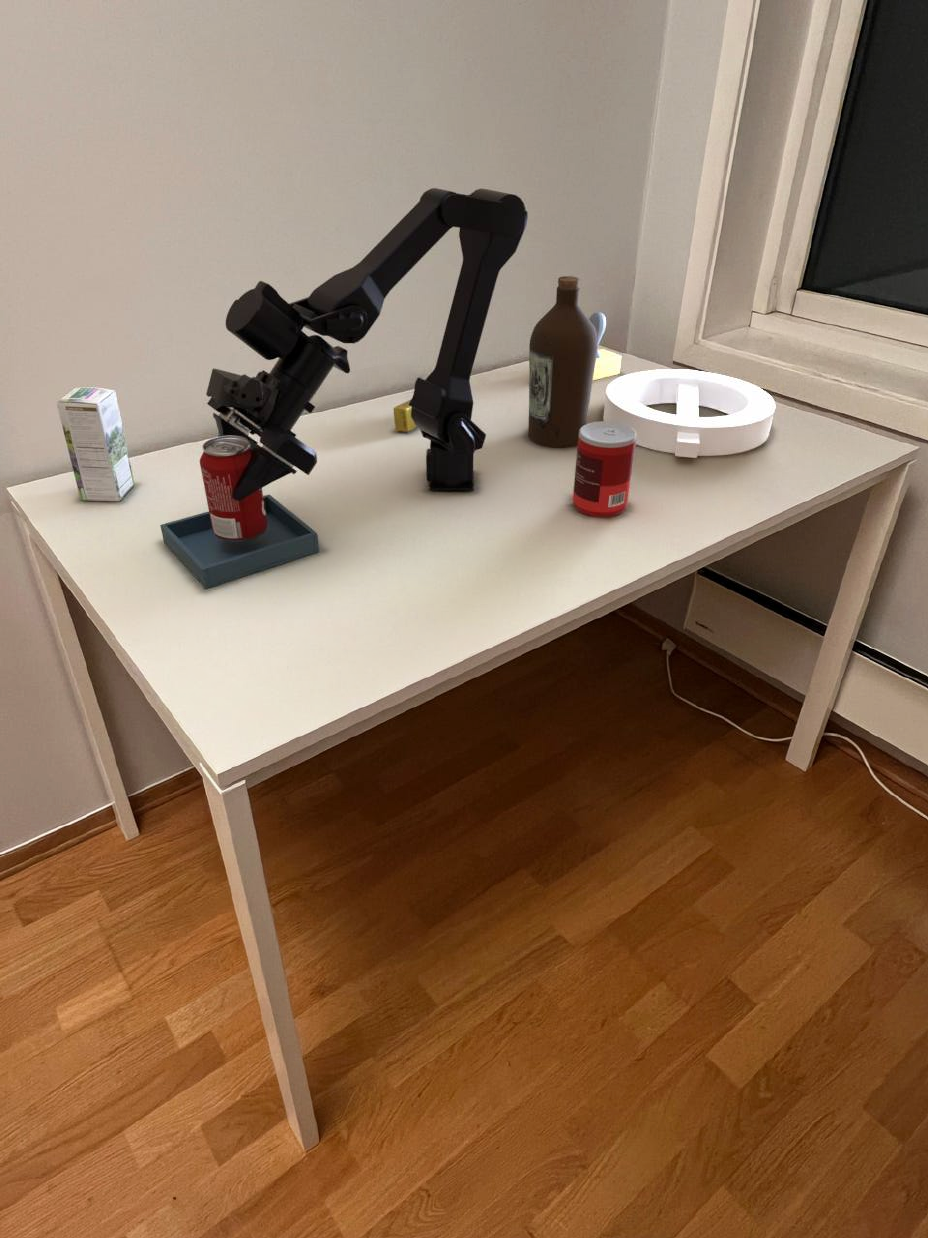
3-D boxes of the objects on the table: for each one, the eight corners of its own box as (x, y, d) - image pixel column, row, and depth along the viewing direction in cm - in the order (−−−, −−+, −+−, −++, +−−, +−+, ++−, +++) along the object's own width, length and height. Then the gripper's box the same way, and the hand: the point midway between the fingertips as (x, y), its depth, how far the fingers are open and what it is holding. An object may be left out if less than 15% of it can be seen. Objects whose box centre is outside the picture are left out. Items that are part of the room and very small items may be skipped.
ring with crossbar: (685, 385, 161) (689, 360, 159) (804, 433, 142) (811, 406, 139) (570, 412, 149) (573, 386, 146) (684, 469, 129) (689, 440, 127)
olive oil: (568, 421, 145) (581, 267, 131) (600, 443, 137) (618, 283, 123) (513, 430, 142) (520, 273, 127) (543, 453, 134) (555, 289, 119)
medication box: (433, 410, 149) (432, 387, 147) (446, 412, 148) (445, 389, 146) (394, 430, 140) (392, 406, 138) (407, 432, 139) (405, 408, 137)
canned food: (631, 497, 121) (641, 424, 115) (621, 522, 115) (631, 446, 108) (579, 489, 123) (586, 417, 117) (566, 513, 117) (573, 438, 110)
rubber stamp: (600, 366, 170) (606, 305, 163) (620, 374, 166) (627, 311, 160) (563, 375, 165) (568, 312, 159) (583, 383, 161) (589, 319, 155)
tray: (271, 511, 116) (269, 494, 114) (319, 551, 107) (317, 533, 105) (164, 543, 108) (159, 524, 107) (205, 589, 99) (202, 569, 98)
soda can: (238, 551, 103) (222, 460, 96) (202, 535, 106) (184, 446, 99) (279, 530, 107) (267, 442, 100) (243, 515, 110) (229, 428, 104)
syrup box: (97, 483, 123) (72, 386, 114) (137, 485, 122) (114, 387, 114) (80, 501, 118) (53, 400, 110) (121, 502, 118) (97, 402, 109)
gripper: (210, 323, 101) (139, 431, 102) (280, 363, 89) (199, 485, 90) (277, 374, 110) (211, 474, 111) (350, 417, 98) (275, 529, 98)
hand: (222, 488), depth 102 cm, fingers closed on soda can, 7 cm apart
